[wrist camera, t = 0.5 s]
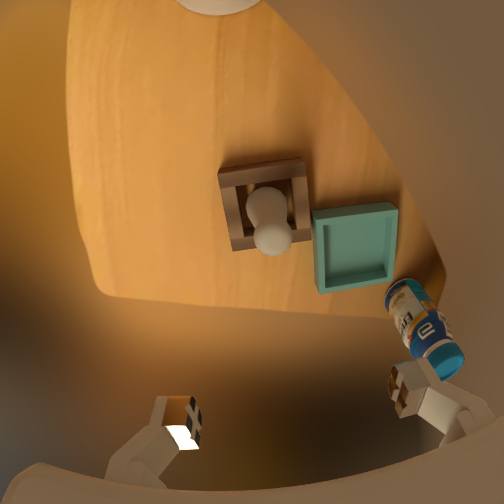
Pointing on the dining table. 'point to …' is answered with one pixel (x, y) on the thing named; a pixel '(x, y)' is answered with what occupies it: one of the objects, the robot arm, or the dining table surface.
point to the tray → (354, 245)
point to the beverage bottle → (423, 327)
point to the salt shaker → (269, 220)
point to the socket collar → (263, 173)
